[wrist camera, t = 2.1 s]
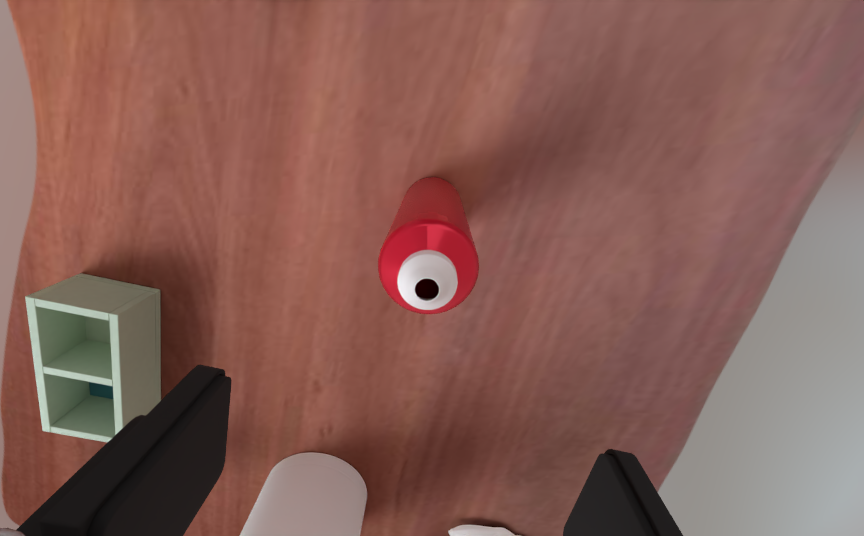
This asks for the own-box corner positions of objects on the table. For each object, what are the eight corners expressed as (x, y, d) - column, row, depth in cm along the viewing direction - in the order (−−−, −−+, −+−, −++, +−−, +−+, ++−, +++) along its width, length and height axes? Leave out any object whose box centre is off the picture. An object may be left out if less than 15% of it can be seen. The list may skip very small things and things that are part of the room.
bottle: (440, 165, 36) (442, 209, 17) (472, 214, 38) (507, 303, 19) (391, 199, 37) (345, 275, 19) (424, 245, 39) (413, 359, 20)
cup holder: (89, 394, 45) (42, 431, 40) (80, 272, 40) (24, 296, 35) (161, 407, 46) (123, 445, 40) (160, 289, 41) (117, 315, 35)
